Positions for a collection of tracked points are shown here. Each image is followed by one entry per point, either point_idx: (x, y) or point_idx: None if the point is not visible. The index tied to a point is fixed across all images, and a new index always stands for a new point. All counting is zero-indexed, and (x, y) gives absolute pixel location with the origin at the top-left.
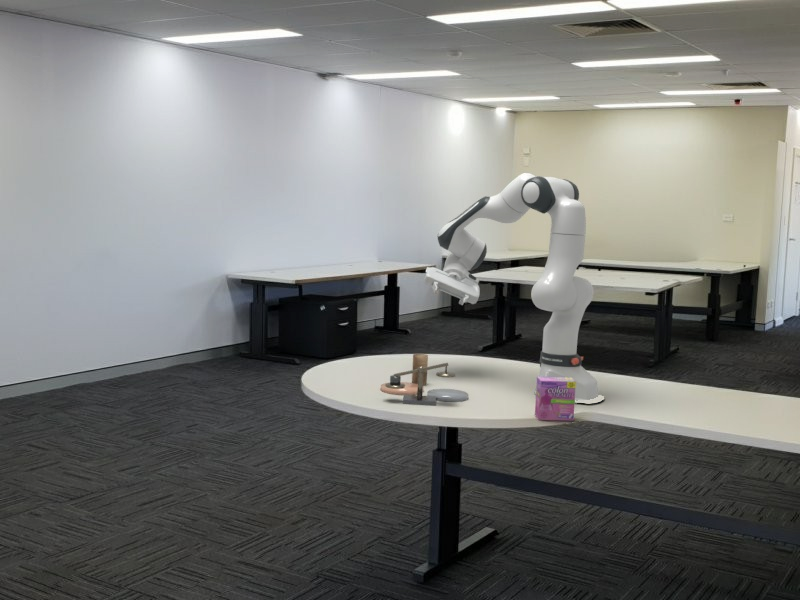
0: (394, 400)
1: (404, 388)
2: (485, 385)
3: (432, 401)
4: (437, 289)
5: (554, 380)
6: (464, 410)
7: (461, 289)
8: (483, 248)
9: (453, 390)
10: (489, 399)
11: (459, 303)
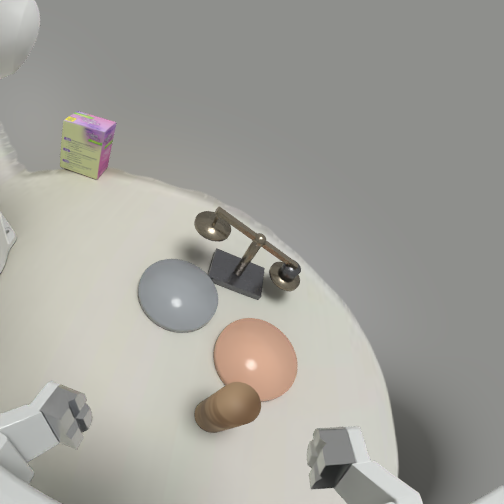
0: (272, 291)
1: (256, 341)
2: (49, 378)
3: (221, 250)
4: (340, 434)
5: (98, 118)
6: (179, 221)
7: (17, 495)
8: None
9: (159, 311)
10: (105, 263)
11: (87, 411)
